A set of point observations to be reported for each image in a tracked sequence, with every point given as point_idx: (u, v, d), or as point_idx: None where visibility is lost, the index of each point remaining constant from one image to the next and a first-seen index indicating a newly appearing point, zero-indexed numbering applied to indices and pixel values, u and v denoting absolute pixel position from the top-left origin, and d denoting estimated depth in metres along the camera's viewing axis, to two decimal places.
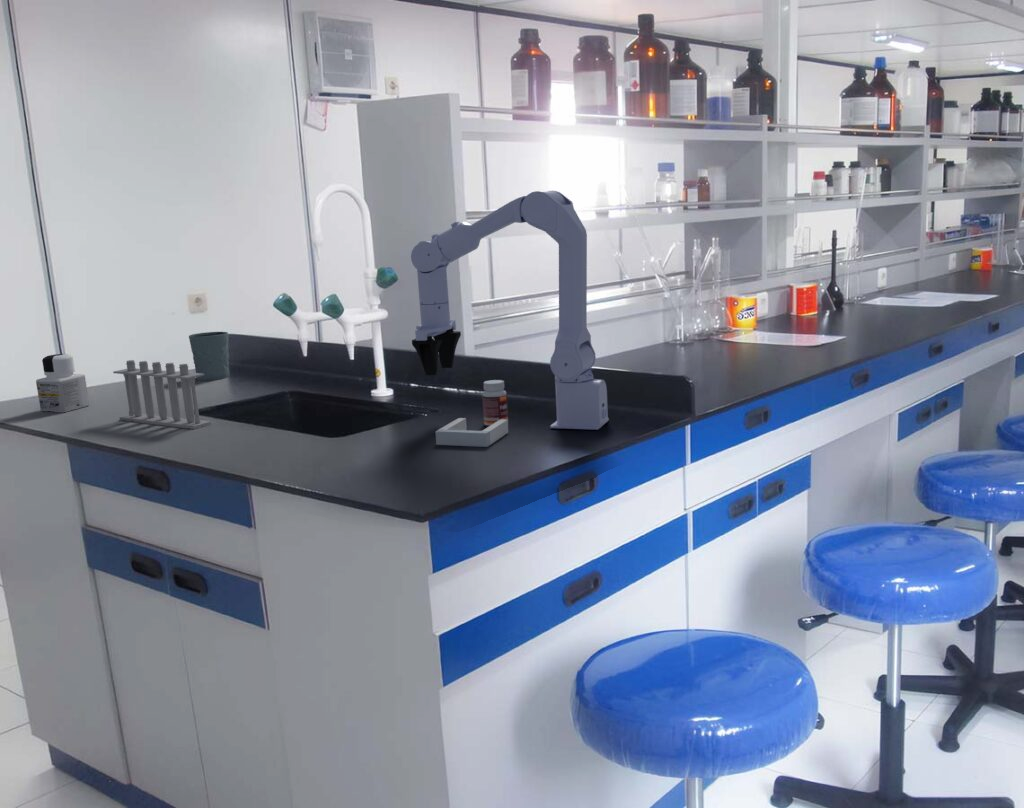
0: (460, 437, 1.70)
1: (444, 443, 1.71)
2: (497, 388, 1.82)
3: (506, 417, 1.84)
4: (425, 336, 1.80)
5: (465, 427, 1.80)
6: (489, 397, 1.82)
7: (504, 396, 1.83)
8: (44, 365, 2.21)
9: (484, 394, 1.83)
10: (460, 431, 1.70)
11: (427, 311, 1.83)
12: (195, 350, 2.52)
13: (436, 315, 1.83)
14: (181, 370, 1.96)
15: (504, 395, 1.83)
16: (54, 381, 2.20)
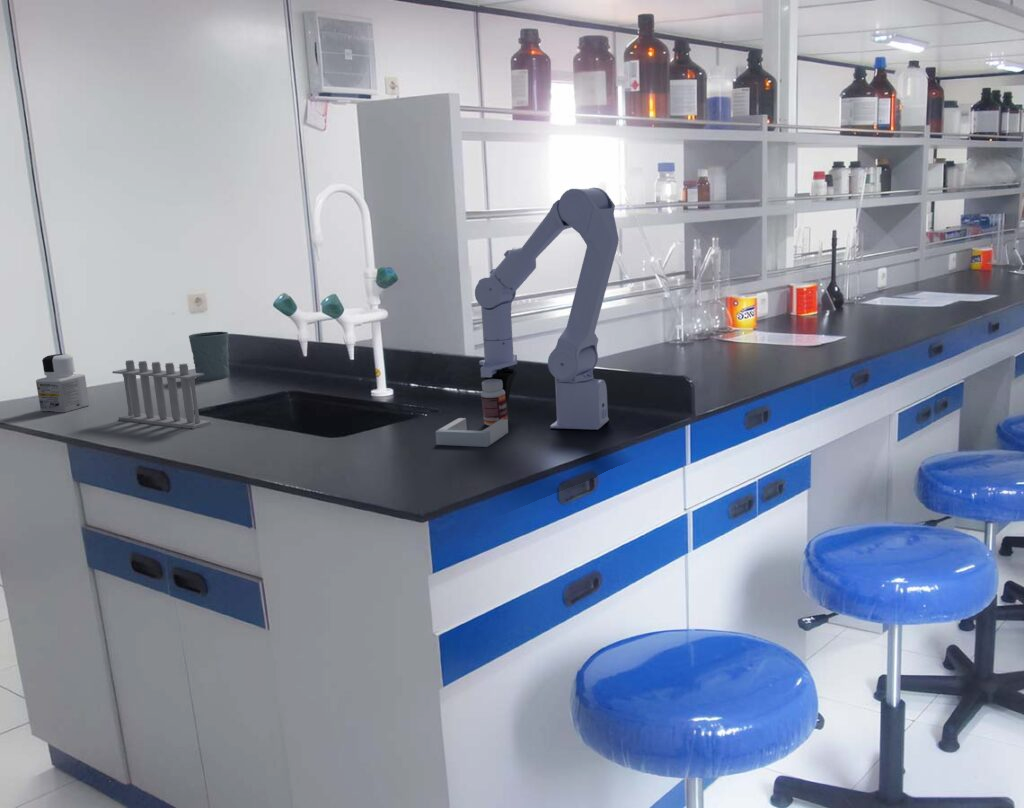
0: (460, 437, 1.70)
1: (444, 443, 1.71)
2: (495, 388, 1.81)
3: (506, 416, 1.84)
4: (490, 373, 1.80)
5: (465, 427, 1.80)
6: (488, 398, 1.82)
7: (503, 396, 1.83)
8: (44, 365, 2.21)
9: (483, 395, 1.82)
10: (460, 431, 1.70)
11: (492, 347, 1.83)
12: (195, 350, 2.52)
13: (500, 351, 1.83)
14: (181, 370, 1.97)
15: (503, 395, 1.82)
16: (54, 381, 2.20)
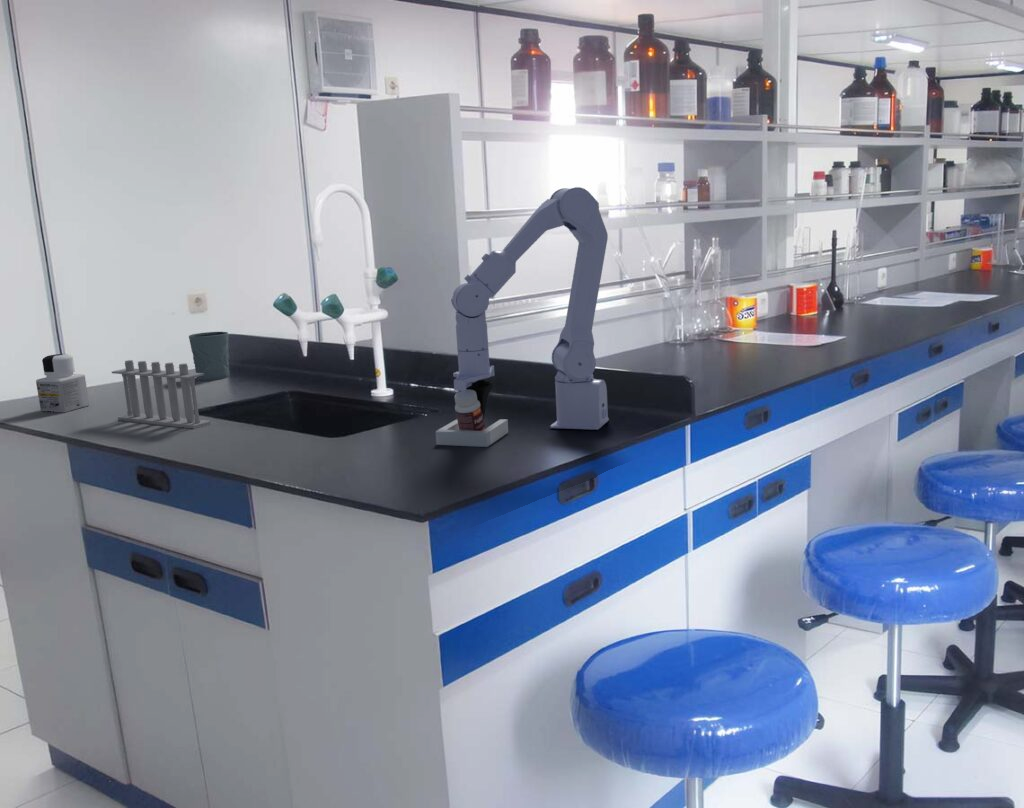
0: (460, 437, 1.70)
1: (444, 443, 1.71)
2: (469, 403, 1.70)
3: (483, 429, 1.73)
4: (464, 386, 1.68)
5: None
6: (461, 413, 1.71)
7: (478, 409, 1.71)
8: (44, 365, 2.21)
9: (456, 409, 1.71)
10: (460, 431, 1.70)
11: (466, 358, 1.72)
12: (195, 350, 2.52)
13: (475, 362, 1.72)
14: (181, 370, 1.97)
15: (477, 408, 1.71)
16: (54, 381, 2.20)
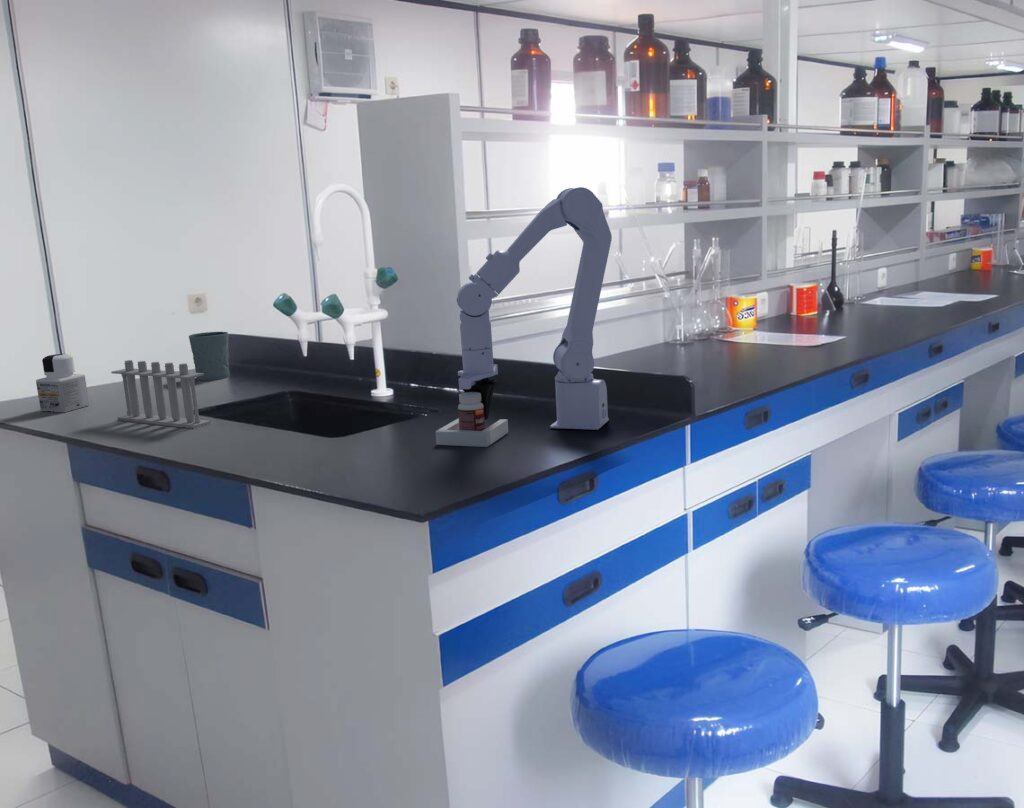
0: (460, 437, 1.70)
1: (444, 443, 1.71)
2: (472, 401, 1.71)
3: None
4: (469, 384, 1.70)
5: None
6: (464, 411, 1.72)
7: (481, 409, 1.73)
8: (44, 365, 2.21)
9: (459, 407, 1.73)
10: (460, 431, 1.70)
11: (470, 357, 1.73)
12: (195, 350, 2.52)
13: (479, 361, 1.73)
14: (181, 370, 1.97)
15: (480, 408, 1.72)
16: (54, 381, 2.20)
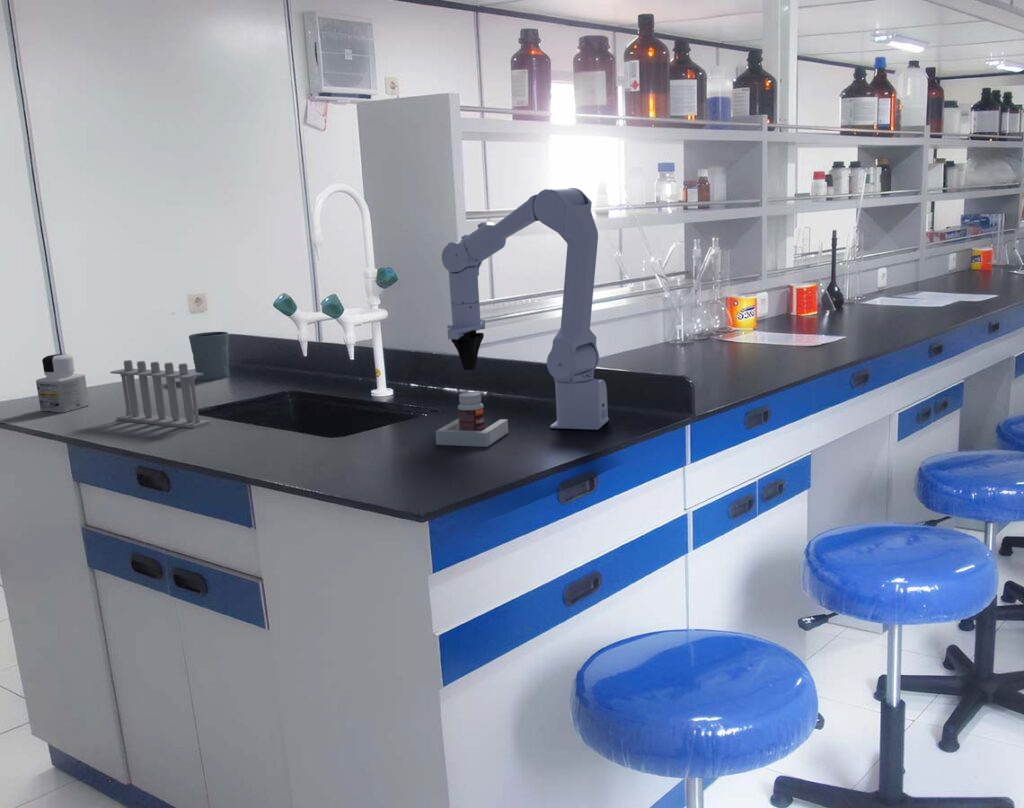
0: (460, 437, 1.70)
1: (444, 443, 1.71)
2: (472, 401, 1.72)
3: None
4: (457, 335, 1.84)
5: None
6: (464, 411, 1.72)
7: (481, 409, 1.73)
8: (44, 365, 2.21)
9: (459, 407, 1.73)
10: (460, 431, 1.70)
11: (459, 310, 1.88)
12: (195, 350, 2.52)
13: (467, 314, 1.88)
14: (180, 370, 1.97)
15: (480, 408, 1.72)
16: (54, 381, 2.20)
